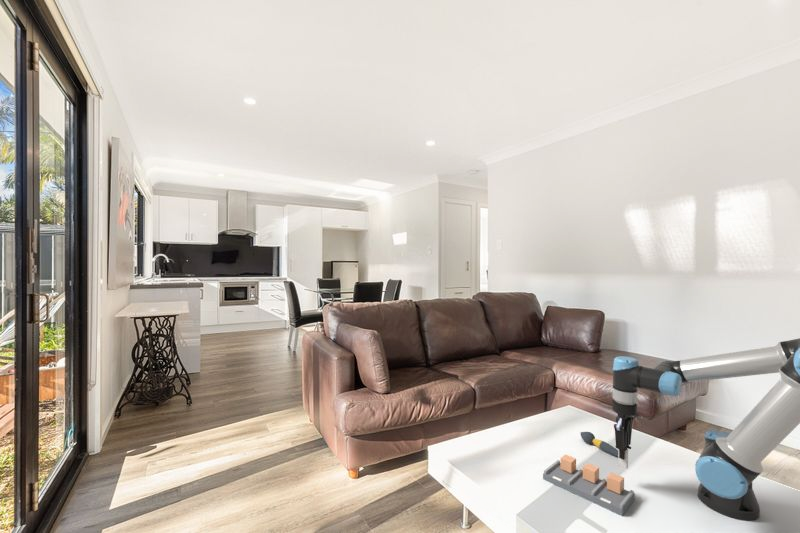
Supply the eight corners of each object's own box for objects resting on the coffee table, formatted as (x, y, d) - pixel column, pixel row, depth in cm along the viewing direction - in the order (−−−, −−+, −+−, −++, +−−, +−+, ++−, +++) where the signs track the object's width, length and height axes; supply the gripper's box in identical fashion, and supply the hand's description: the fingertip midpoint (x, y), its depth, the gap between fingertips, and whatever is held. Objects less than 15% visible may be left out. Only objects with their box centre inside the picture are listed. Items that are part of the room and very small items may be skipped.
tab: (624, 489, 125) (624, 477, 125) (619, 494, 122) (620, 482, 122) (611, 483, 128) (611, 472, 128) (606, 488, 125) (607, 476, 125)
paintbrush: (627, 457, 150) (627, 445, 150) (621, 460, 147) (621, 448, 147) (581, 437, 166) (581, 426, 166) (575, 440, 164) (575, 429, 164)
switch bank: (634, 499, 123) (634, 490, 123) (622, 516, 115) (622, 506, 115) (558, 467, 142) (558, 459, 142) (543, 479, 134) (543, 471, 134)
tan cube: (576, 469, 137) (576, 458, 137) (571, 473, 134) (571, 462, 134) (565, 464, 140) (565, 454, 140) (560, 468, 137) (560, 458, 137)
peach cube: (598, 478, 131) (599, 467, 131) (594, 483, 128) (594, 471, 128) (587, 473, 134) (587, 463, 134) (582, 478, 131) (582, 467, 131)
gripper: (619, 393, 137) (617, 455, 138) (606, 402, 129) (604, 468, 129) (642, 399, 132) (640, 464, 132) (630, 409, 123) (628, 478, 124)
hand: (622, 466), depth 131 cm, fingers closed
